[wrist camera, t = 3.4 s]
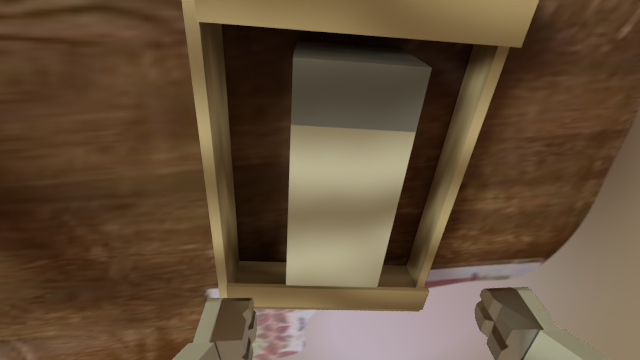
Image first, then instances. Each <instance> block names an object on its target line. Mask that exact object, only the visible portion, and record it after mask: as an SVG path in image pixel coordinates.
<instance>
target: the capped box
mask: <svg viewBox="0 0 640 360" xmlns="http://www.w3.org/2000/svg"><path fill="white" fill-rule="evenodd" d="M431 70H432V68H431V67H430V66H428V65H427V64H425V63H424V62H422V61H421V60H419V59H418V58H416V57H414V56H413V55H411V54H410V53H408V52H407V51H405V50H404V49H399V48H386V47H373V46H360V45H348V44H335V43H322V42H309V41H296V45H295V50H294V55H293V73H292V105H291V137H290V169H289V202H288V234H287V266H286V285H297V286H339V287H377V286H378V282H379V278H380V274H381V270H382V266H383V262H384V258H385V254H386V250H387V246H388V242H389V238H390V234H391V230H392V226H393V222H394V218H395V214H396V210H397V206H398V202H399V198H400V194H401V190H402V186H403V182H404V178H405V174H406V170H407V166H408V162H409V158H410V154H411V150H412V146H413V142H414V138H415V134H416V130H417V126H418V122H419V118H420V114H421V110H422V106H423V102H424V98H425V94H426V90H427V86H428V82H429V78H430V74H431Z"/></svg>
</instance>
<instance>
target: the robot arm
mask: <svg viewBox="0 0 640 360" xmlns="http://www.w3.org/2000/svg"><path fill="white" fill-rule="evenodd" d="M480 297H481V299H482V300H481V301H480V302H479V303H477V305H476V308H475V319H476V322H477V325H478V327H479V329H480V331H481V332H482V333H483V334H485V335H486V336H487V337H488V340H487V345H488V347H489V349H490V351H491V353H492V355H493V357H494V359H495V360H611V359H610V358H608V357H607V356H605V355H604V354H602V353H601V352H599V351H598V350H596V349H595V348H593V347H592V346H590V345H588V344H587V343H585V342H584V341H582V340H581V339H579V338H578V337H576V336H575V335H573V334H571V333H570V332H568V331H567V330H566V329H560V328H559V326H558V325H557V324H556V322H555V321H554V320H553V318H552V317H551V316H550V314H549V313H548V312H547V310H546V309H545V307H544V306H543V305H542V303H541V302H540V301H539V299H538V298H537V297H536V295H535V294H534V293H533V292H532V290H531V289H529V288H528V287H520V288H519V287H518V288H490V289H484V290H482V291H481V294H480ZM253 308H254V301H253V298H209V299H208V301H207V302H206V304H205V307H204V310H203V313H202V316H201V320H200V323H199V326H198V329H197V332H196V335H195V338H194V341H193V343H188V344H187V345H186V346H185V347H184V348H183V349H182V350H181V351H180V352H179V353H178V354H177V355H176V356H175V357H174V358H173V359H172V360H252V358H253V348H252V343H253V342H254V341H255V338H256V330H257V316H256V312H255V311H254V310H253Z"/></svg>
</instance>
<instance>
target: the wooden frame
mask: <svg viewBox="0 0 640 360" xmlns="http://www.w3.org/2000/svg"><path fill="white" fill-rule="evenodd" d="M538 1H539V0H182V6H183V14H184V22H185V30H186V37H187V45H188V53H189V61H190V68H191V76H192V84H193V92H194V100H195V107H196V115H197V123H198V131H199V138H200V146H201V154H202V162H203V169H204V177H205V185H206V193H207V200H208V208H209V216H210V224H211V231H212V239H213V247H214V255H215V262H216V270H217V278H218V286H219V293H220V298H253V301H254V308H263V309H316V310H320V309H321V310H369V311H370V310H371V311H419V310H422V309H423V307H424V304H425V301H426V298H427V296H428V293H429V290H428V288H424V285H425V282H426V279H427V276H428V274H429V271H430V268H431V265H432V263H433V260H434V257H435V254H436V251H437V249H438V246H439V243H440V240H441V237H442V235H443V232H444V229H445V226H446V224H447V221H448V218H449V215H450V212H451V210H452V207H453V204H454V201H455V199H456V196H457V193H458V190H459V187H460V185H461V182H462V179H463V176H464V174H465V171H466V168H467V165H468V162H469V160H470V157H471V154H472V151H473V149H474V146H475V143H476V140H477V137H478V135H479V132H480V129H481V126H482V124H483V121H484V118H485V115H486V112H487V110H488V107H489V104H490V101H491V98H492V96H493V93H494V90H495V87H496V85H497V82H498V79H499V76H500V73H501V71H502V68H503V65H504V62H505V60H506V57H507V54H508V51H509V48H510V47H519V48H521V47H522V44H523V41H524V39H525V36H526V33H527V31H528V28H529V25H530V23H531V20H532V17H533V15H534V12H535V9H536V7H537V4H538ZM222 24H233V25H245V26H258V27H270V28H283V29H295V30H307V31H320V32H332V33H345V34H357V35H370V36H382V37H395V38H407V39H420V40H432V41H445V42H457V43H469V44H474V45H473V49H472V52H471V55H470V59H469V62H468V65H467V68H466V72H465V75H464V78H463V82H462V85H461V88H460V92H459V95H458V98H457V101H456V105H455V108H454V111H453V115H452V118H451V121H450V124H449V128H448V131H447V134H446V138H445V141H444V144H443V148H442V151H441V154H440V157H439V161H438V164H437V167H436V171H435V174H434V177H433V180H432V184H431V187H430V190H429V194H428V197H427V200H426V204H425V207H424V210H423V213H422V217H421V220H420V223H419V227H418V230H417V233H416V236H415V240H414V243H413V246H412V250H411V253H410V256H409V259H408V263H407V266H394V265H383V266H382V270H381V274H380V278H379V282H378V286H377V287H339V286H297V285H286V266H287V262H256V261H239V248H238V235H237V222H236V208H235V195H234V182H233V168H232V155H231V141H230V128H229V115H228V101H227V88H226V75H225V61H224V48H223V34H222Z"/></svg>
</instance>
